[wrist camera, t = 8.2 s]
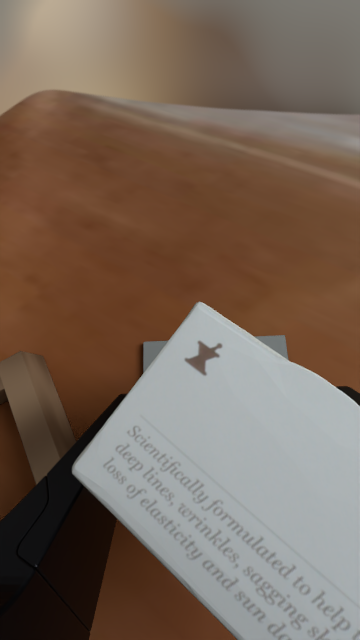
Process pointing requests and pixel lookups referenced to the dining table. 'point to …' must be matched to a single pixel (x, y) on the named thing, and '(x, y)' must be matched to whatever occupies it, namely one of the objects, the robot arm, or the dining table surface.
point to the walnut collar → (36, 411)
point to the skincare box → (239, 481)
